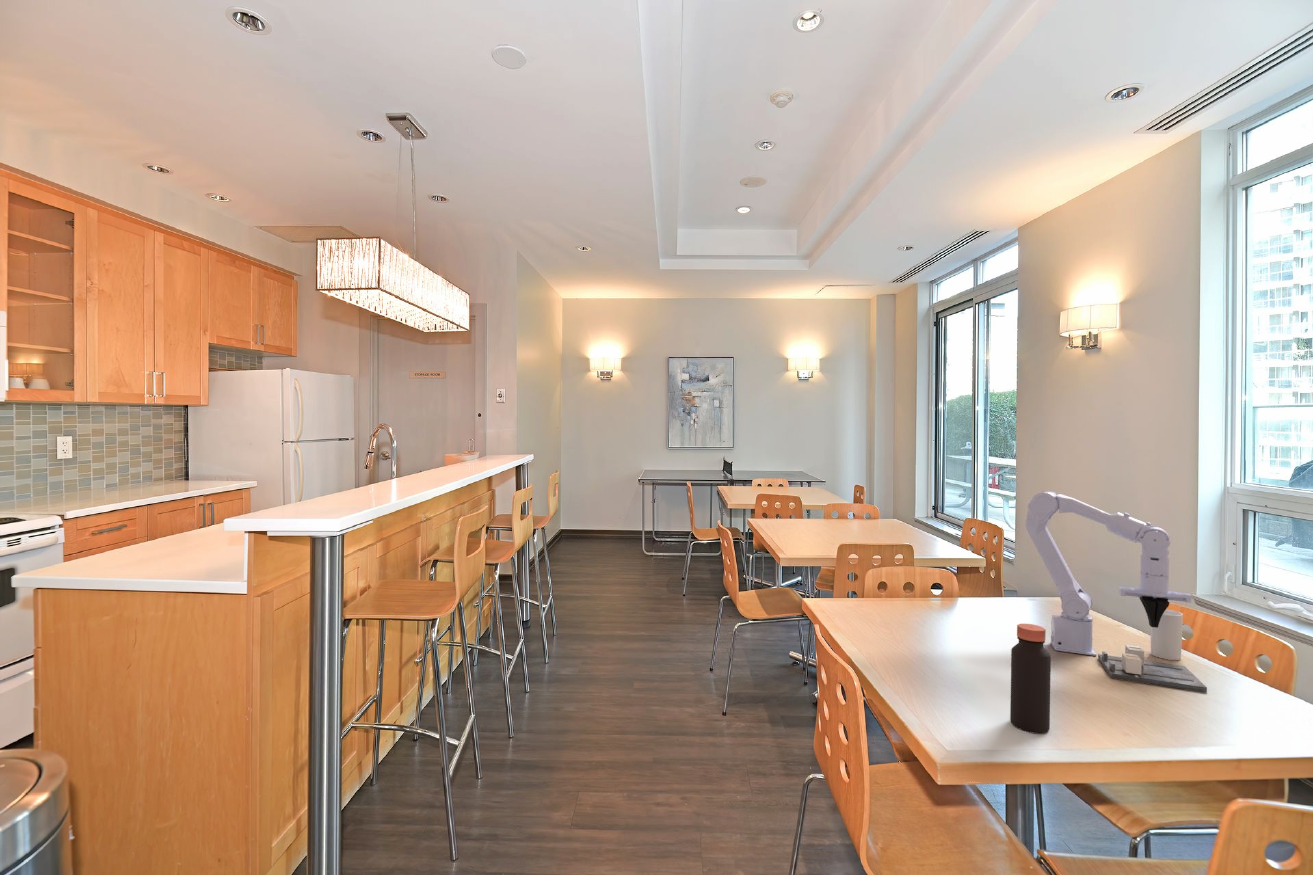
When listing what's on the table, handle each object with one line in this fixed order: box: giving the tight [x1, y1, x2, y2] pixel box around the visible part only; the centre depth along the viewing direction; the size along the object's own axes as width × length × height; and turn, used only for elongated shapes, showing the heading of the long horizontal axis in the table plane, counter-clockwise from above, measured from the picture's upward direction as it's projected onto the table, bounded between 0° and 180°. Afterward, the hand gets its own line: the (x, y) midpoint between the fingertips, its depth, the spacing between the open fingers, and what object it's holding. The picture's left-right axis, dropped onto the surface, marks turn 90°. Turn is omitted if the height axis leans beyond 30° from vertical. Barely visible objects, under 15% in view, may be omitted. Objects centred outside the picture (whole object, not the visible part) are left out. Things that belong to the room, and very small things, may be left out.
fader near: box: [1121, 652, 1142, 675], centre depth 151 cm, size 3×4×4 cm
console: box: [1097, 650, 1208, 694], centre depth 152 cm, size 18×15×3 cm
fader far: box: [1124, 644, 1145, 665], centre depth 157 cm, size 3×4×4 cm
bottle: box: [1009, 623, 1052, 734], centre depth 124 cm, size 7×7×20 cm
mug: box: [1149, 608, 1184, 661], centre depth 167 cm, size 10×7×12 cm, turn 154°
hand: (1153, 626), depth 159 cm, fingers closed
